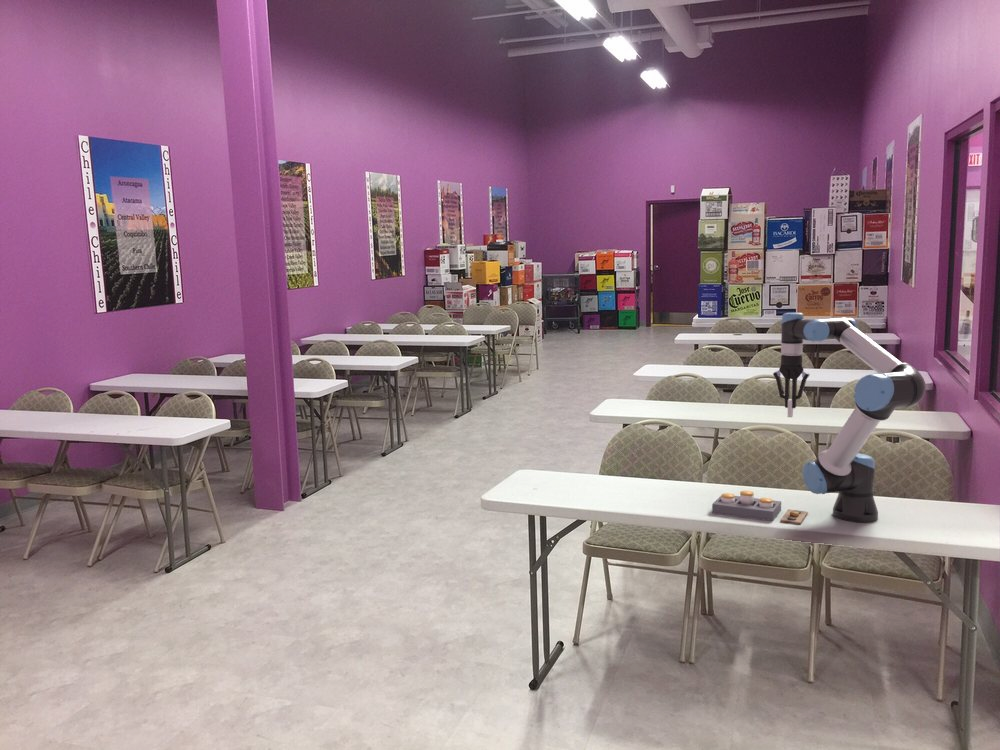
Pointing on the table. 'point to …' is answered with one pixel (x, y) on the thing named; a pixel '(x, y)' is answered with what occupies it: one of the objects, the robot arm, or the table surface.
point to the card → (794, 516)
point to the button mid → (747, 498)
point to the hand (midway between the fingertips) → (790, 416)
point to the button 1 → (728, 498)
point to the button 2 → (766, 502)
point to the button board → (746, 509)
